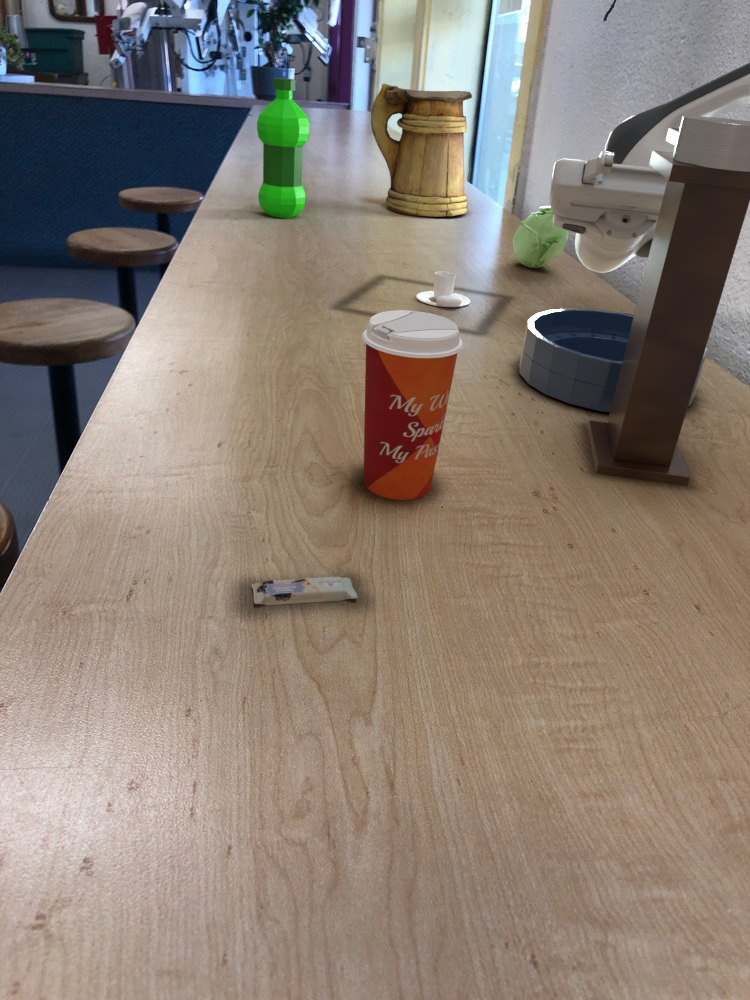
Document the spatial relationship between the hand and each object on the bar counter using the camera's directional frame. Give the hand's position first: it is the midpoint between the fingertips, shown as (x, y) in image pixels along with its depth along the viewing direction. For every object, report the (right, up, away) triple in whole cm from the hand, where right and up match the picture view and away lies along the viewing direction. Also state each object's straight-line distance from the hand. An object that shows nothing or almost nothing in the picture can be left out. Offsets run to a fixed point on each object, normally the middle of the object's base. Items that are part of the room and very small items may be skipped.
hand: (650, 162), depth 88 cm
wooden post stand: (-6, -34, -14) cm, 37 cm away
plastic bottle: (-50, +20, +73) cm, 91 cm away
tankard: (-21, +29, +92) cm, 99 cm away
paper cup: (-29, -37, -22) cm, 52 cm away
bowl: (-4, -24, +3) cm, 25 cm away
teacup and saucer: (-23, -10, +26) cm, 36 cm away
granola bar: (-35, -44, -36) cm, 67 cm away
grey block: (-3, -9, -22) cm, 23 cm away
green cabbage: (-3, +2, +50) cm, 50 cm away
